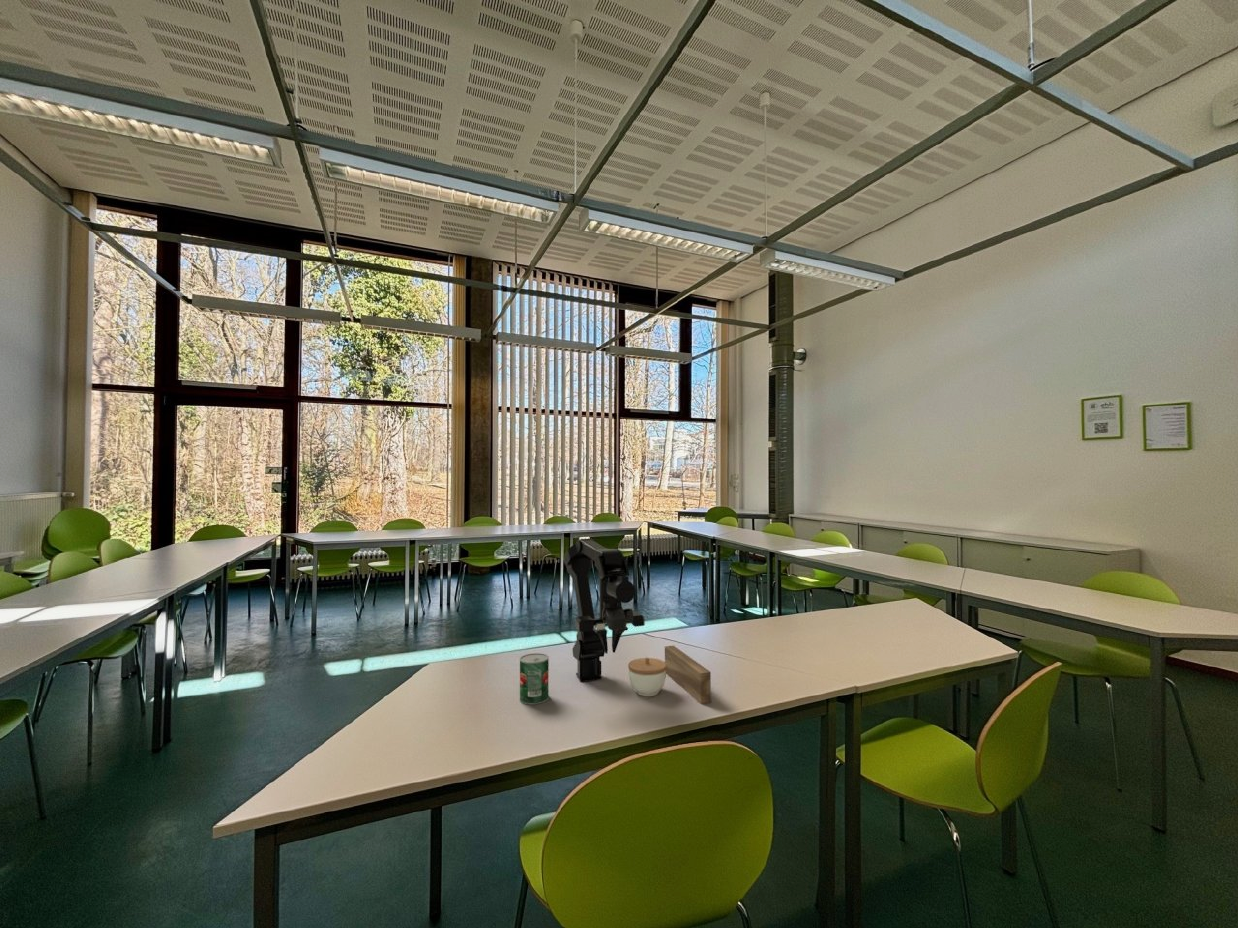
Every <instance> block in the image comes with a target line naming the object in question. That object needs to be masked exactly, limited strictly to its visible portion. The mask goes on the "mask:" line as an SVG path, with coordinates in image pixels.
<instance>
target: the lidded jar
mask: <svg viewBox="0 0 1238 928" xmlns="http://www.w3.org/2000/svg"><path fill="white" fill-rule="evenodd" d="M627 667H628V677H629V681H630V685H631V686H632V688H633V690H634V691H635V692H636V693H637V695H639V696H642V697H654V696H656V695H658V694H659V692H660V691H661V690H662V689H663V688H664V685H665V683H666V677H667V674H666V663H665V660H661V659H658V658H654V657H640V658H636V659H632V660H631V661H629V662H628V666H627Z"/></svg>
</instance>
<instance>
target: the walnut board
mask: <svg viewBox="0 0 1238 928" xmlns="http://www.w3.org/2000/svg"><path fill="white" fill-rule="evenodd" d="M664 662H665V663H666V676H668V677H670V678H671V679H672V680H673V681H674V682H675V683H676V684H677V685H679V687H681V688H682V689H683V690H684V691H686V693H688V694H689V695H690V696H691V697H692V698H693V699H694V700H696V702H698V703H699V704H701V705H702V704H703V705H704V704H710V703H712V688H711V687H712V686H711V685H712V683H711V682H712V681H711V678H712V677H711V675H712V674H711V671H710V670H708V669H707V668H706V667H705V666H703V665H702V664H700V663H698V662H697V660H694V659H693V658H692V657H690V656H688V655H687V654H686V653H685V652H683V651H682V650H681V649H679V648H678V647H677V646H676V645H666V646H664Z"/></svg>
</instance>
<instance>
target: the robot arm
mask: <svg viewBox="0 0 1238 928" xmlns="http://www.w3.org/2000/svg"><path fill="white" fill-rule="evenodd" d="M593 561H594V567H595V568H596V570H597V572H598V574H597V578H599V583H598V585H599V597H598V602H599V612H598V618H595V611H594V605H593V599H592V594H591V593H592V592H591V587H590V586H591V585H590V579H589V574H590V571H591V569H592V562H593ZM563 562H564V565H565V568H566V571H567V574H569V576H570V578H572V580H573V584H574V585H573V586H574V592H575V599H576V606H577V612H578V616H576V617H575V619H574V627H575V629H576V630H577V633H576V640H575V643H574V645H573V647H572V650H571V651H572V656H573V658H574V659H575V660H576V662H577V669H576V670H577V672H575V675H576V677H577V679H578V680H579V681H580V682H590V681H599V680H602V661H601V659H600V658H603V657H604V656H605V654H608V651H609V650H608V649H609V648H608V647H609V646H608V638H607V634H608V630H607V629H606V626H607V628H608V629H609V630H610V631H611V632H612V633H611V650H612V653H613V654H615V653H616V651H617V648H618V646H619V642H620V639H621V637H622V636H623V633H624V632H625V631H628V630H629V627H628V626H627V625H628V624H631V625H632V626H633V627H635V628H637V627H644V626H645V621H646V620H645V617H644V615H643V614H641V613H640V612H639V611H633V609H632V608H623V606H622V604H627V603H630V602H632V600H634V598H635V596H636V587H635V585H634V584H633V582H631V581H629V576H630V572H629V569H630V568H629V566H628V563H627V562H626V558H625V556H624V554H623V553H622V551H621V550H620V549H616V548H606V547H605V546H603V545H601V544H599V543H598V542H596V541H595V540H594V539H593V538H580V539H577V540H576V542H575V543H574V544H573V545H571V546H570V547H569V548H568V549H566V552H565V554H564V557H563Z"/></svg>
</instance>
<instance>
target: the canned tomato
mask: <svg viewBox="0 0 1238 928" xmlns="http://www.w3.org/2000/svg"><path fill="white" fill-rule="evenodd" d="M549 658H550V656H549V655H547V654H545V653H542V652H541V653H539V652H538V653H537V652H535V653H533V652H532V653H528V654H525V655H522V656H521V657H520V658H519V701H520V702H521V703H522V704H525V705H539V704H543V703H545V702H546V701H548V699H549V697H550V696H549V691H550V690H549V689H550V688H549V677H550V675H549V660H550V659H549Z"/></svg>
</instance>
